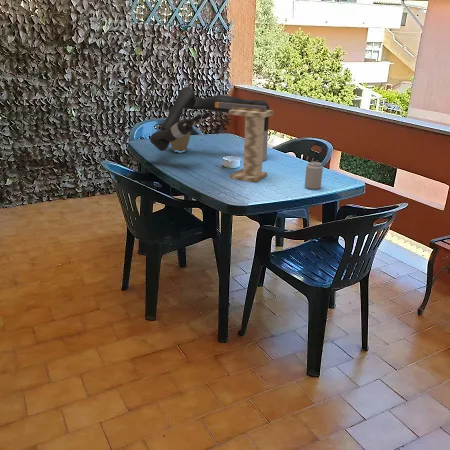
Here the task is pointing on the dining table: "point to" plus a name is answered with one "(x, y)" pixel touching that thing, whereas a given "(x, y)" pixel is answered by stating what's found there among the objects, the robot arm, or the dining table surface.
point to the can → (313, 175)
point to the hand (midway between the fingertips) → (205, 114)
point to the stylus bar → (230, 105)
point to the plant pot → (181, 143)
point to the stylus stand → (252, 144)
